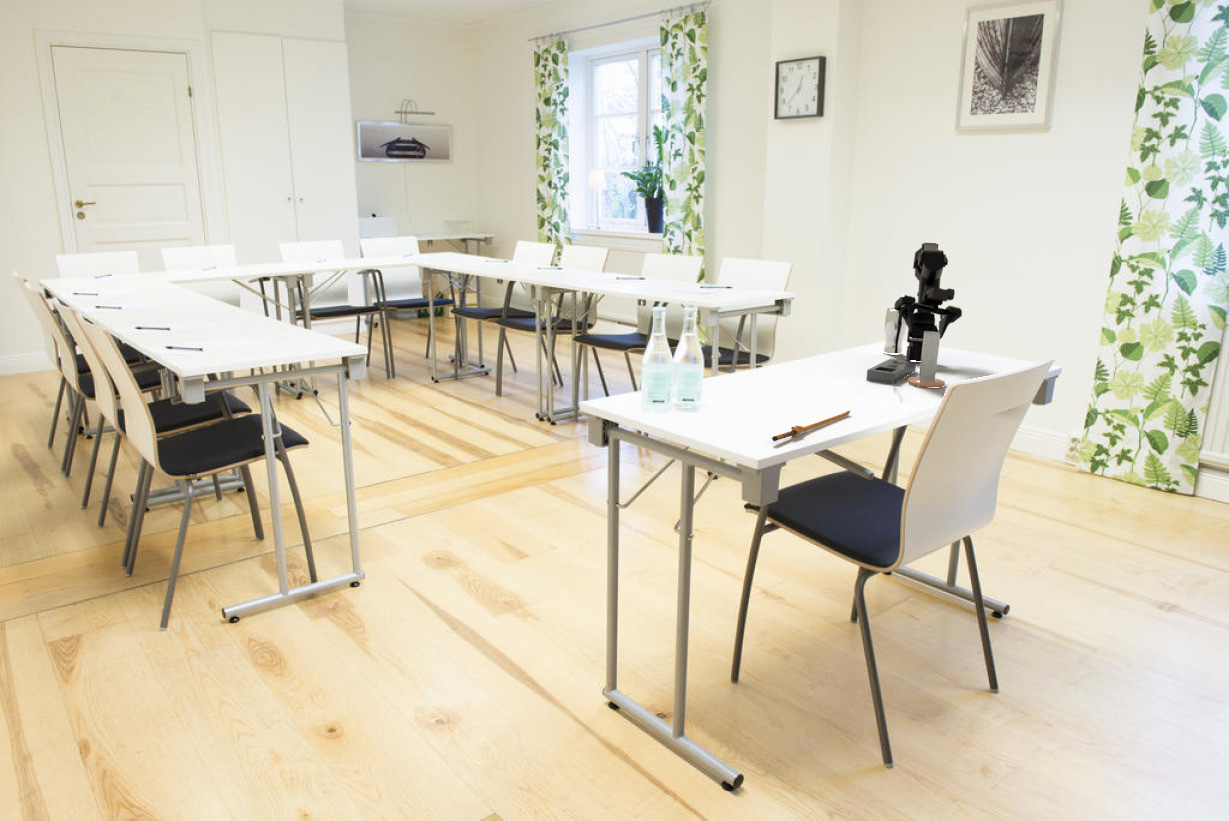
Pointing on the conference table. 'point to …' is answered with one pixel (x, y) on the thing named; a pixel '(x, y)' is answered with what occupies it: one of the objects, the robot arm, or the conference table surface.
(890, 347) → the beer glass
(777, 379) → the conference table surface
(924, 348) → the steel peg
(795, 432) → the katana
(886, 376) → the rack rail
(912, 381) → the terracotta coaster
